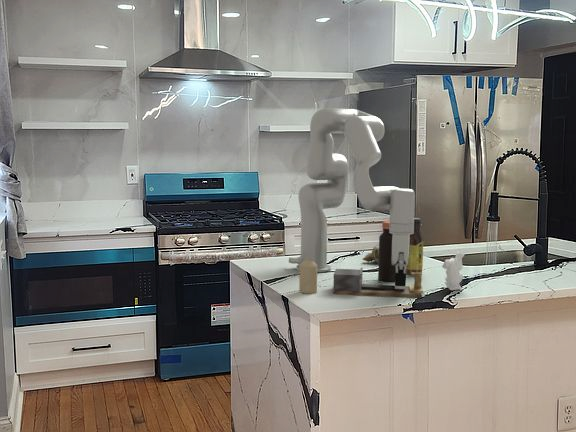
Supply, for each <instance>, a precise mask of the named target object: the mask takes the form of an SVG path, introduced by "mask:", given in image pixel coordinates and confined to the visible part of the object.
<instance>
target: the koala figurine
mask: <svg viewBox="0 0 576 432" xmlns="http://www.w3.org/2000/svg"><path fill="white" fill-rule="evenodd" d="M465 255H466V253H465V252H458V251H457V252H456V253H455V257H450V259H449V258H448V259H445V261H443V263H442V266H441V267H442V269H444V270H445V274H446V276H445V281H444V284H445V286H446V288H447V289H449V290H450V291H456V290H458V291H459V290H463V288H462V287H461V284H460V283H461V282H462V281H463V278H464V275H463V273H460V271H462V270H463V268H464V267H463V260H462V259H463V258H464V256H465Z"/></svg>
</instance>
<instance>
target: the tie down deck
mask: <svg viewBox="0 0 576 432" xmlns="http://www.w3.org/2000/svg"><path fill="white" fill-rule="evenodd" d="M363 270H364V269H363V267H360V268H359V269H354V268H353V269H351V268H335V270H334V272H333V287H332V288H333V290H332V295H346V296H347V295H350V296H368V297H369V296H370V297H371V296H372V297H391V298H392V297H395V298H396V297H397V298H413V299H414V298H417V299H418V298H419V299H420V298H422V295H423V294H424V289H423V285H422V279H423V278H422V276H423V272H422V273H419V272H416V273H414V272H412V274H410V275H411V277H414V281H413V282H414V283H413V284H409V285H406V286H405V290H392V289H369V288H361V286H362V284H363ZM422 299H423V298H422Z"/></svg>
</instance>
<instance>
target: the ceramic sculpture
mask: <svg viewBox="0 0 576 432" xmlns="http://www.w3.org/2000/svg"><path fill="white" fill-rule="evenodd" d="M362 261H365V262H373V261H374V262H375V263H377V264H379V244H376V245H375V246H374V247H373V249H372V251H371V253H370V252H369V253H367V254H366V255H365V256H364V257H363V258H362Z"/></svg>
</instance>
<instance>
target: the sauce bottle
mask: <svg viewBox="0 0 576 432" xmlns="http://www.w3.org/2000/svg"><path fill="white" fill-rule="evenodd" d="M421 223H422V219H421V218H418V217H414V234H410V242H409V257H408V264H407V266H405V273H406V275H411V274H412V272H414V273H416V272H419V273H422V274H423V264H424V263H423V261H424V260H423V259H424V239H423V235H422V233H421V232H422V231H421Z"/></svg>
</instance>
